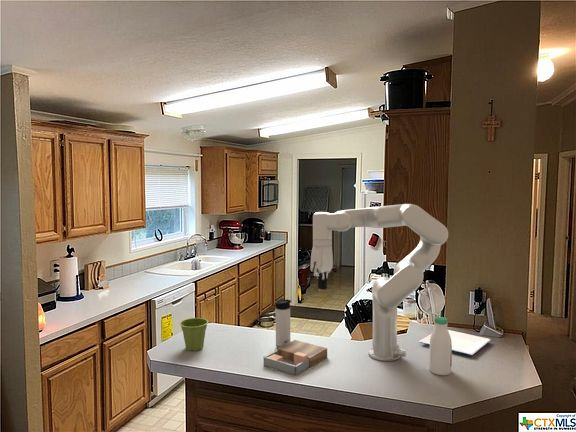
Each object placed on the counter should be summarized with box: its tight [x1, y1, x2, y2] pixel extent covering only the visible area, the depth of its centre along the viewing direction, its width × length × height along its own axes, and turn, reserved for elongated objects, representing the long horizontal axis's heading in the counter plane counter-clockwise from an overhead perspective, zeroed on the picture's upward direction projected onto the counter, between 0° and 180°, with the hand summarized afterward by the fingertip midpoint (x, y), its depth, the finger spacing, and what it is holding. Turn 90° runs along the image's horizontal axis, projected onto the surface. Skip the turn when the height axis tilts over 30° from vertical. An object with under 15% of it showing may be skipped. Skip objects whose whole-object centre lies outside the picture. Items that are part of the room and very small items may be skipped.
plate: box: [418, 329, 491, 356], centre depth 190 cm, size 22×22×2 cm
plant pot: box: [179, 317, 209, 351], centre depth 188 cm, size 12×12×11 cm
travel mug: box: [274, 299, 292, 348], centre depth 189 cm, size 6×7×20 cm
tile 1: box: [268, 354, 283, 362], centre depth 170 cm, size 4×4×2 cm
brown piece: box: [276, 339, 328, 369], centre depth 176 cm, size 16×12×4 cm
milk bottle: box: [428, 316, 453, 376], centre depth 163 cm, size 8×8×20 cm
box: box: [263, 349, 310, 377], centre depth 168 cm, size 15×9×4 cm, turn 53°
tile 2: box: [294, 352, 307, 366], centre depth 168 cm, size 4×4×2 cm
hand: (322, 288), depth 178 cm, fingers closed
